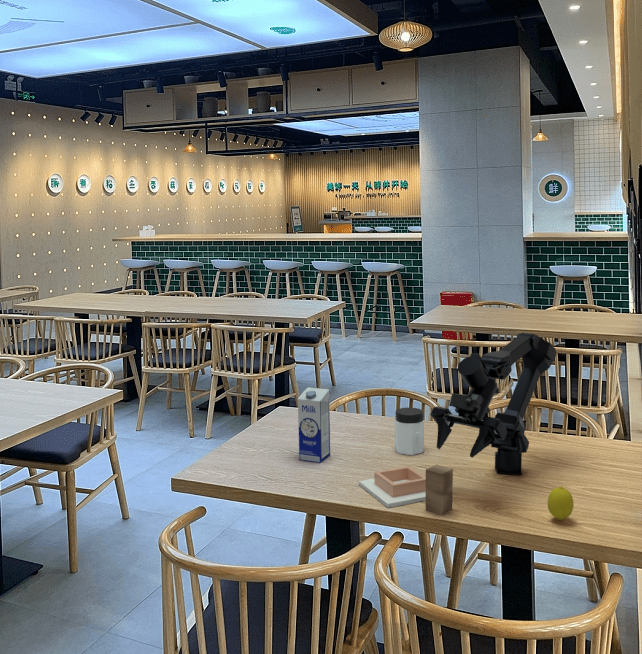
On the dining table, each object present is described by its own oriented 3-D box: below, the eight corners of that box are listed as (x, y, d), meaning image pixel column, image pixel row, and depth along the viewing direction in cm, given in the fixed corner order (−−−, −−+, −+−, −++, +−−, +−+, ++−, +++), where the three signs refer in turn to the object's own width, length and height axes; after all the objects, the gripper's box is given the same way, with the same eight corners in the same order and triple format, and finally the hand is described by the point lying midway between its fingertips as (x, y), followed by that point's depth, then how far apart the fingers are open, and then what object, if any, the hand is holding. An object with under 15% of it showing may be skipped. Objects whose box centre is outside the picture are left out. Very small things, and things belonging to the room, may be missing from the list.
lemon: (567, 514, 162) (568, 481, 161) (576, 525, 157) (578, 490, 155) (543, 515, 162) (544, 482, 161) (552, 526, 156) (553, 491, 155)
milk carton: (330, 455, 205) (329, 388, 202) (321, 463, 199) (319, 394, 196) (308, 452, 208) (307, 386, 204) (298, 460, 202) (297, 391, 198)
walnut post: (436, 504, 169) (436, 464, 168) (452, 509, 166) (452, 468, 165) (425, 510, 166) (425, 469, 164) (441, 515, 163) (442, 474, 161)
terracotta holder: (413, 475, 188) (413, 460, 188) (445, 496, 174) (445, 481, 173) (358, 484, 182) (358, 470, 182) (387, 507, 168) (387, 491, 167)
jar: (406, 457, 202) (406, 416, 200) (388, 449, 209) (388, 410, 207) (430, 451, 207) (430, 411, 205) (411, 444, 214) (411, 405, 212)
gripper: (434, 374, 176) (408, 427, 170) (502, 385, 164) (476, 443, 157) (451, 399, 183) (426, 450, 177) (517, 411, 171) (493, 467, 164)
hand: (454, 452), depth 169 cm, fingers open, 9 cm apart
